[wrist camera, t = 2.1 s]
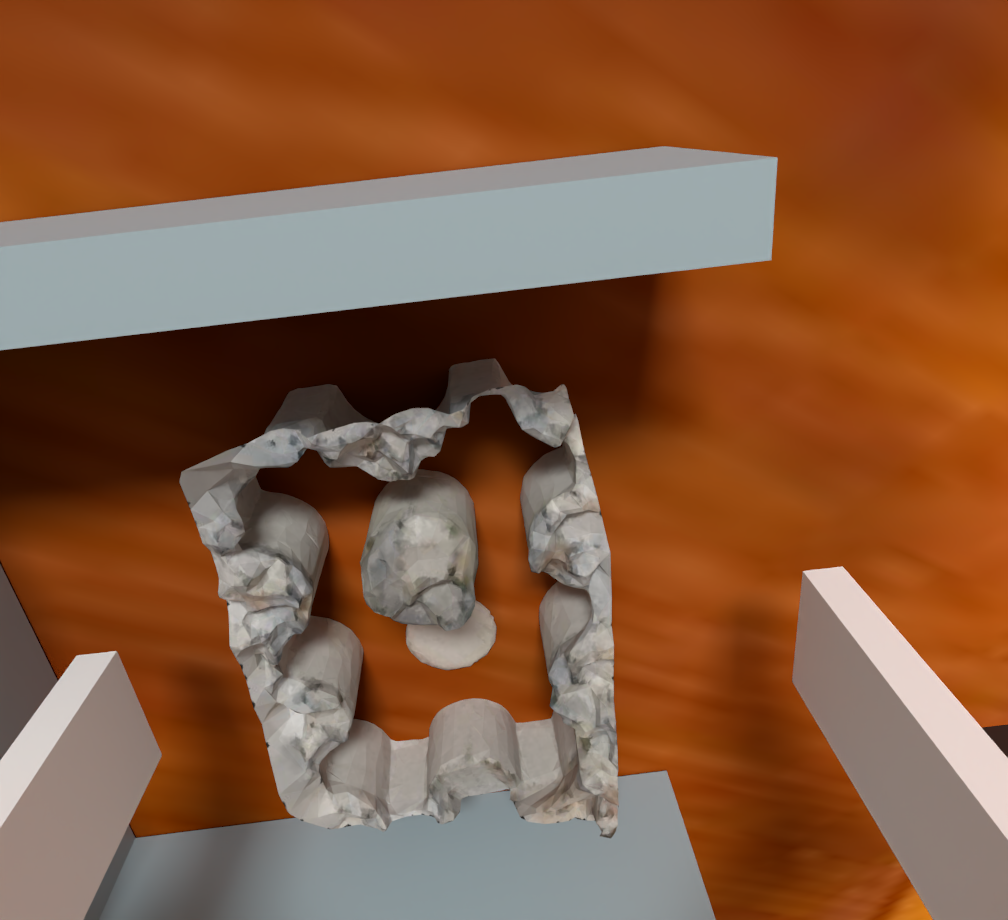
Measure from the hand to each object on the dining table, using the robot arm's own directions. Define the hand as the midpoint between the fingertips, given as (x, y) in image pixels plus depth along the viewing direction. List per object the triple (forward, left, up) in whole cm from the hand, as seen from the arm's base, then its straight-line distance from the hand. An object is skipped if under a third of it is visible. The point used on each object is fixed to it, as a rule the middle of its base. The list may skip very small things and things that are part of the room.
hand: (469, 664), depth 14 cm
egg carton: (-1, 0, -4) cm, 4 cm away
